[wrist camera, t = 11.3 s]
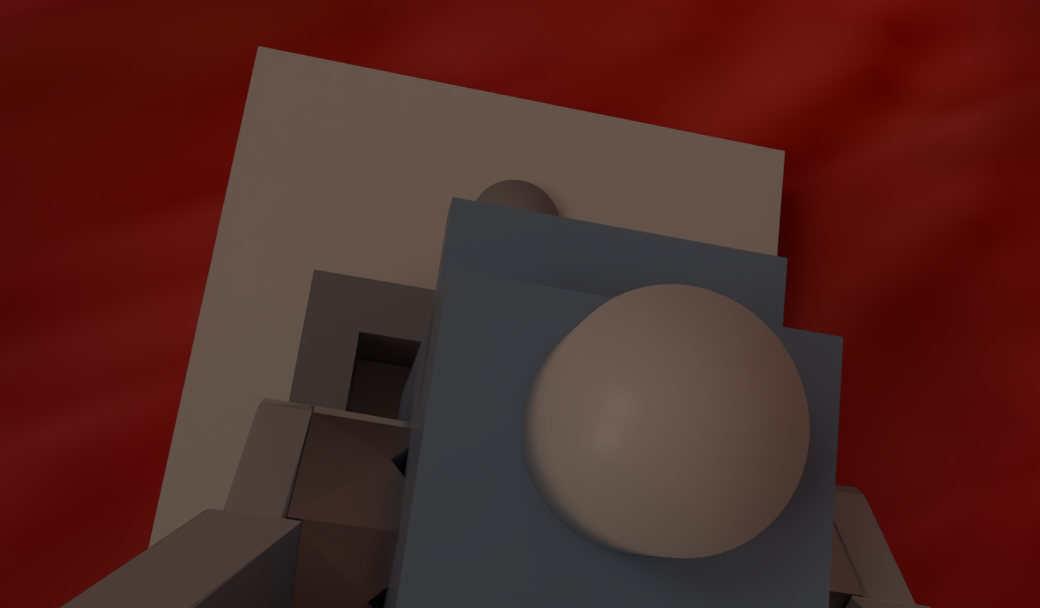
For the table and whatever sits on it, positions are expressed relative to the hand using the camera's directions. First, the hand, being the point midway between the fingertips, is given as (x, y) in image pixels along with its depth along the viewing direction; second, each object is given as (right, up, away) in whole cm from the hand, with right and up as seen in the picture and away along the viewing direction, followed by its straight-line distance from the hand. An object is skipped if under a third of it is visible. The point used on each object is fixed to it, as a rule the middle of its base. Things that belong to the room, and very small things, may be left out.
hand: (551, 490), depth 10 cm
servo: (-1, -2, +4) cm, 4 cm away
